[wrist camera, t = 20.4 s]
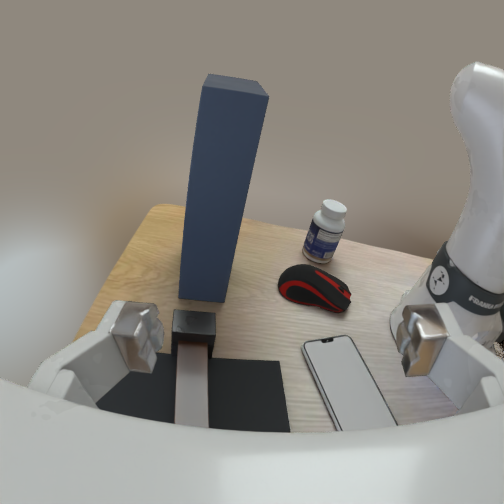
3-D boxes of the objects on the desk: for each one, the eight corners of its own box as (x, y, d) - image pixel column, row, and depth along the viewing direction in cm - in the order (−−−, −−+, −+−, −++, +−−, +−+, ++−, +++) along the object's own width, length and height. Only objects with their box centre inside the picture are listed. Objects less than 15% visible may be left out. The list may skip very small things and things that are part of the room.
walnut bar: (211, 337, 36) (215, 312, 34) (215, 472, 24) (221, 461, 21) (172, 334, 35) (173, 308, 33) (166, 470, 23) (164, 458, 20)
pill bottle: (302, 241, 57) (319, 193, 51) (331, 249, 57) (349, 203, 51) (300, 259, 53) (318, 208, 47) (331, 267, 52) (352, 218, 47)
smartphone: (349, 452, 27) (300, 341, 38) (346, 454, 27) (298, 344, 38) (401, 430, 29) (349, 333, 40) (398, 432, 30) (347, 336, 41)
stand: (223, 251, 50) (257, 81, 35) (224, 302, 42) (269, 96, 26) (184, 246, 49) (208, 73, 34) (178, 298, 41) (202, 85, 25)
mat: (278, 363, 36) (279, 360, 35) (289, 433, 29) (290, 432, 28) (102, 347, 32) (102, 344, 32) (87, 419, 25) (86, 417, 25)
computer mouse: (346, 319, 43) (358, 299, 41) (273, 295, 45) (280, 274, 42) (348, 291, 48) (358, 271, 46) (282, 269, 50) (289, 248, 47)
